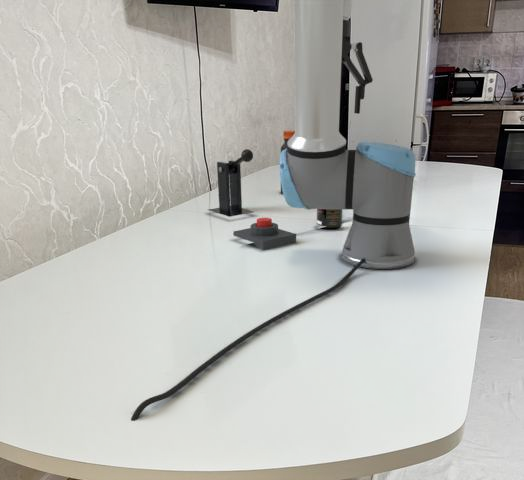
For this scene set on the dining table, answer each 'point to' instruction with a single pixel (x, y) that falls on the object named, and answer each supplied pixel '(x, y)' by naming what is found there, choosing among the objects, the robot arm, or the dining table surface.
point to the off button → (264, 222)
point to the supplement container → (329, 218)
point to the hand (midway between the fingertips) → (332, 114)
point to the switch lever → (241, 160)
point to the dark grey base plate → (266, 236)
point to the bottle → (287, 136)
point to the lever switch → (229, 191)
